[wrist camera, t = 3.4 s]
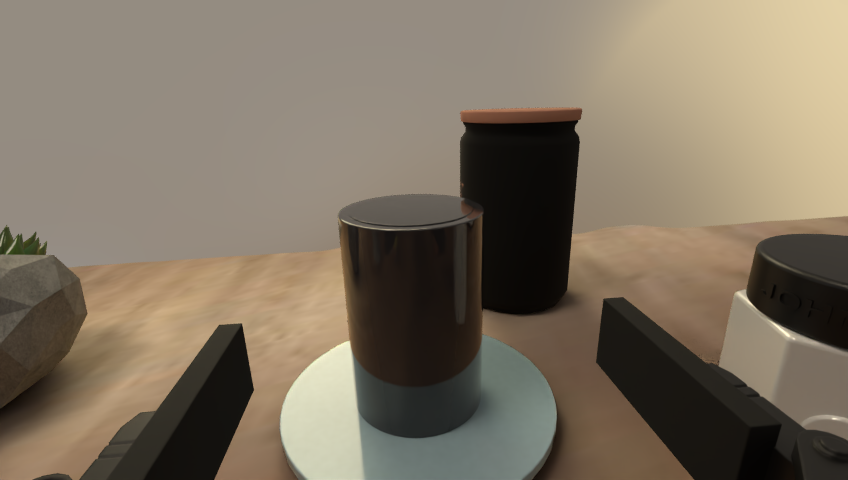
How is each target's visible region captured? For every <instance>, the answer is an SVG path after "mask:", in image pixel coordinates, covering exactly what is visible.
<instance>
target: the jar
mask: <svg viewBox="0 0 848 480" xmlns="http://www.w3.org/2000/svg"><path fill="white" fill-rule="evenodd" d="M718 366H719V367H721V368H723V369H725V370H727V371H729V372H731V373H733V374H734V375H735V376H737V377H738V378H739V379H741V380H742V381H743V382H745V383H746V384H747V386H748V387H751V388H752V389H754V390H755V391H756V392H758V393H759V394H760V397H764V398H765V399H767V400H768V401H769V402H771V403H772V404H773V405H775V406H776V407H777V408H779V409H780V410H781V411H782V412H784V413H785V414H786V415H788V416H789V417H790V418H792V419H793V420H794V421H795V422H797V423H798V424H799V425H801V426H802V427H803V428H805V429H806V430H819V431H824V432H829V433H831V434H834V435H837V436H839V437H842V438H844V439H846V440H848V236H841V235H826V234H790V235H780V236H775V237H771V238H767V239H765V240H763V241H761V242H760V243H759V244H758V245H757V247H756V250H755V255H754V259H753V263H752V268H751V272H750V276H749V281H748V285H747V289H744V290H740V291H737V292H735V294H734V297H733V302H732V306H731V311H730V315H729V320H728V324H727V329H726V333H725V338H724V342H723V347H722V352H721V356H720V361H719V365H718Z"/></svg>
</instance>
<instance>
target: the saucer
mask: <svg viewBox="0 0 848 480" xmlns="http://www.w3.org/2000/svg"><path fill="white" fill-rule="evenodd" d="M556 424H557V410H556V403H555V399H554V396H553V392H552V390H551V388H550V386H549V384H548V382H547V380H546V379H545V377H544V376H543V374H542V373H541V372H540V370H539V369H538V368H537V367H536V366H535V365H534V364H533V363H532V362H531V361H530V360H529V359H528V358H526V357H525V356H524V355H523V354H521V353H520V352H518V351H517V350H515V349H514V348H512V347H511V346H509V345H507V344H505V343H503V342H501V341H499V340H497V339H494V338H492V337H489V336H487V335H484V334H482V386H481V401H480V404H479V407H478V408H477V410H476V412H475V413H474V415H473V416H472V417H471V418H470V419H469V420H468V421H467V422H465V423H464V424H463V425H461V426H460V427H458V428H456V429H454V430H452V431H450V432H447V433H444V434H441V435H437V436H433V437H426V438H404V437H398V436H394V435H390V434H387V433H384V432H382V431H379V430H378V429H376V428H374V427H372V426H371V425H370V424H368V423H367V422H366V421H365V420H364V419H363V418H362V416H361V415H360V413H359V411H358V409H357V407H356V402H355V393H354V382H353V372H352V361H351V351H350V340H349V341H346V342H344V343H342V344H340V345H338V346H336V347H334V348H332V349H331V350H329V351H328V352H326V353H324V354H323V355H321V356H320V357H319V358H317V359H316V360H315V361H313V362H312V363H311V364H310V365H309V366H308V367H307V368H306V369H305V370H304V371H303V372H302V373H301V374H300V375H299V376H298V378H297V379H296V380H295V381H294V383H293V385H292V386H291V388H290V389H289V391H288V393H287V395H286V398H285V400H284V402H283V406H282V410H281V414H280V429H279V430H280V436H281V442H282V448H283V452H284V454H285V457H286V460H287V462H288V465H289V466H290V468H291V469H292V471H293V472H294V474H295V475H296V477H297V478H298V479H299V480H532V479H533V478H534V476H535V475H536V474H537V473H538V471H539V470H540V469H541V468H542V466H543V465H544V463H545V461H546V459H547V458H548V456H549V454H550V452H551V449H552V446H553V443H554V440H555V433H556Z"/></svg>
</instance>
